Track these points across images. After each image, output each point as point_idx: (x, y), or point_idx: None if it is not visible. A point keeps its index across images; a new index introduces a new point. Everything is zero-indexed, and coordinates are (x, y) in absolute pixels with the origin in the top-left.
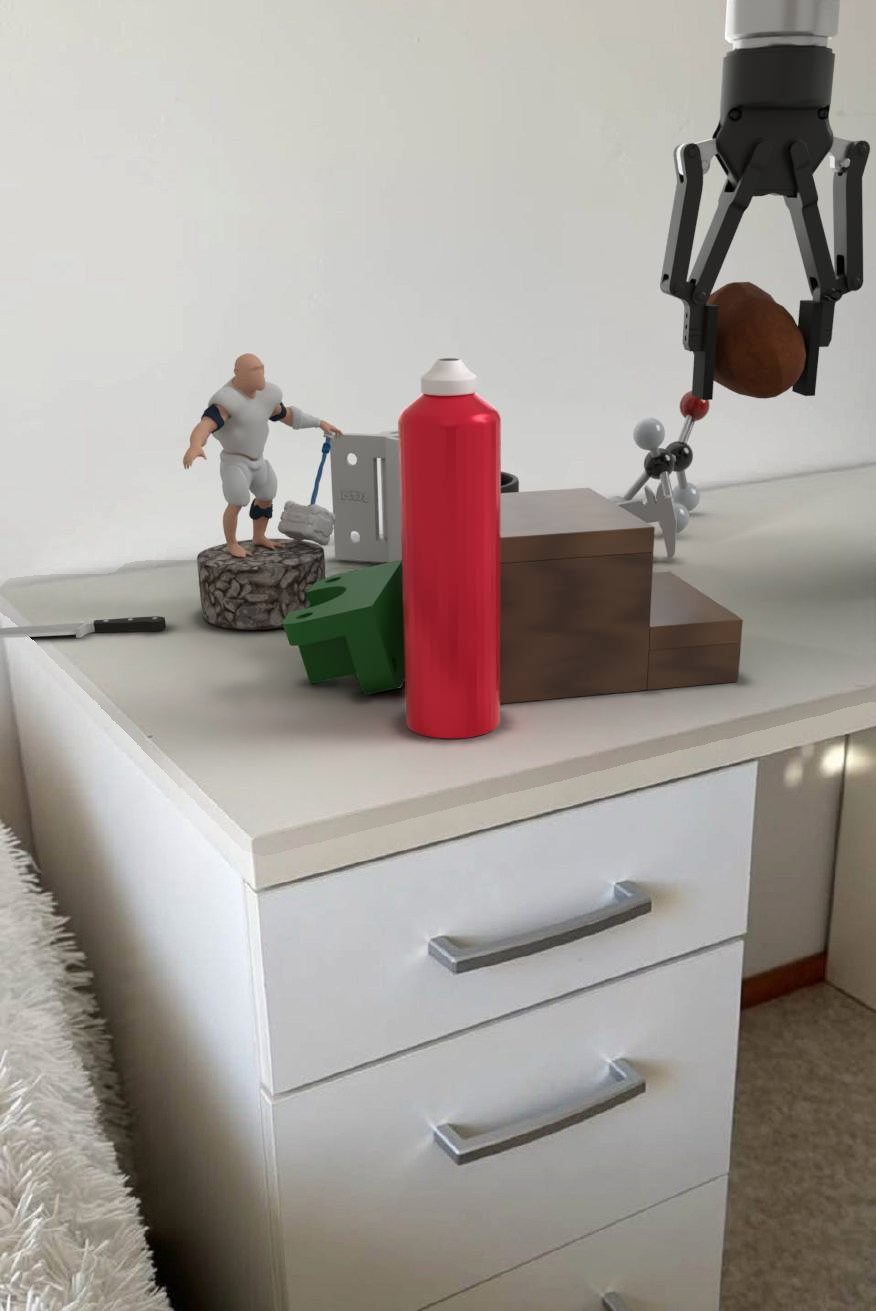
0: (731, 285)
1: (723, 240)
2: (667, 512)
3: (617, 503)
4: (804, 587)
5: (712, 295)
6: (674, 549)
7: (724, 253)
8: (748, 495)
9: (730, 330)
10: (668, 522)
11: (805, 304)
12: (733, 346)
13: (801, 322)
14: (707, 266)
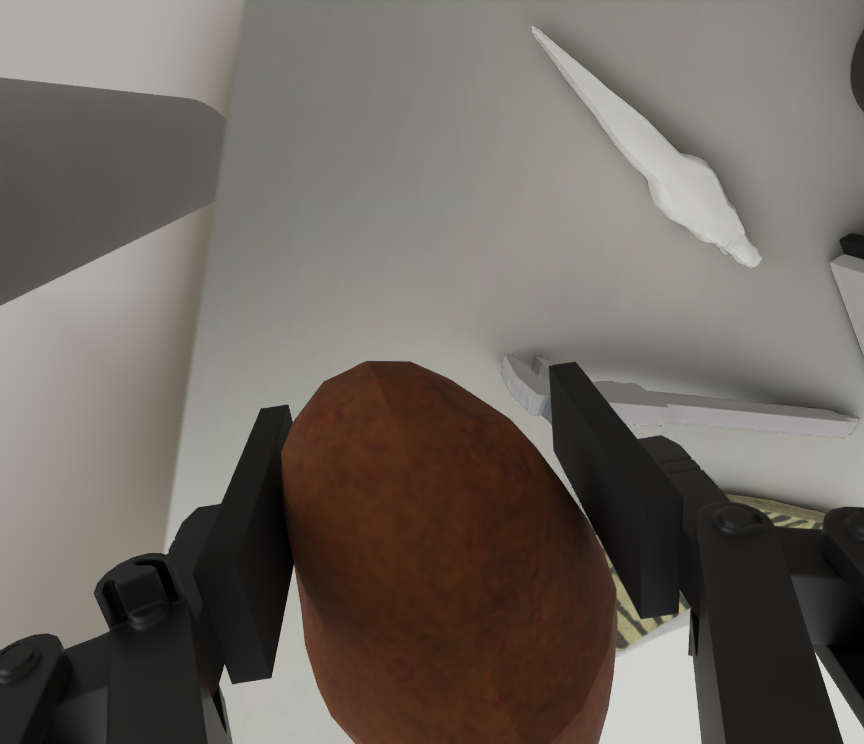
0: (541, 740)
1: (785, 738)
2: (534, 384)
3: (619, 413)
4: (319, 182)
5: (591, 724)
6: (507, 357)
7: (731, 676)
8: (312, 721)
9: (545, 494)
10: (528, 376)
11: (259, 624)
12: (525, 452)
13: (275, 594)
14: (785, 611)
